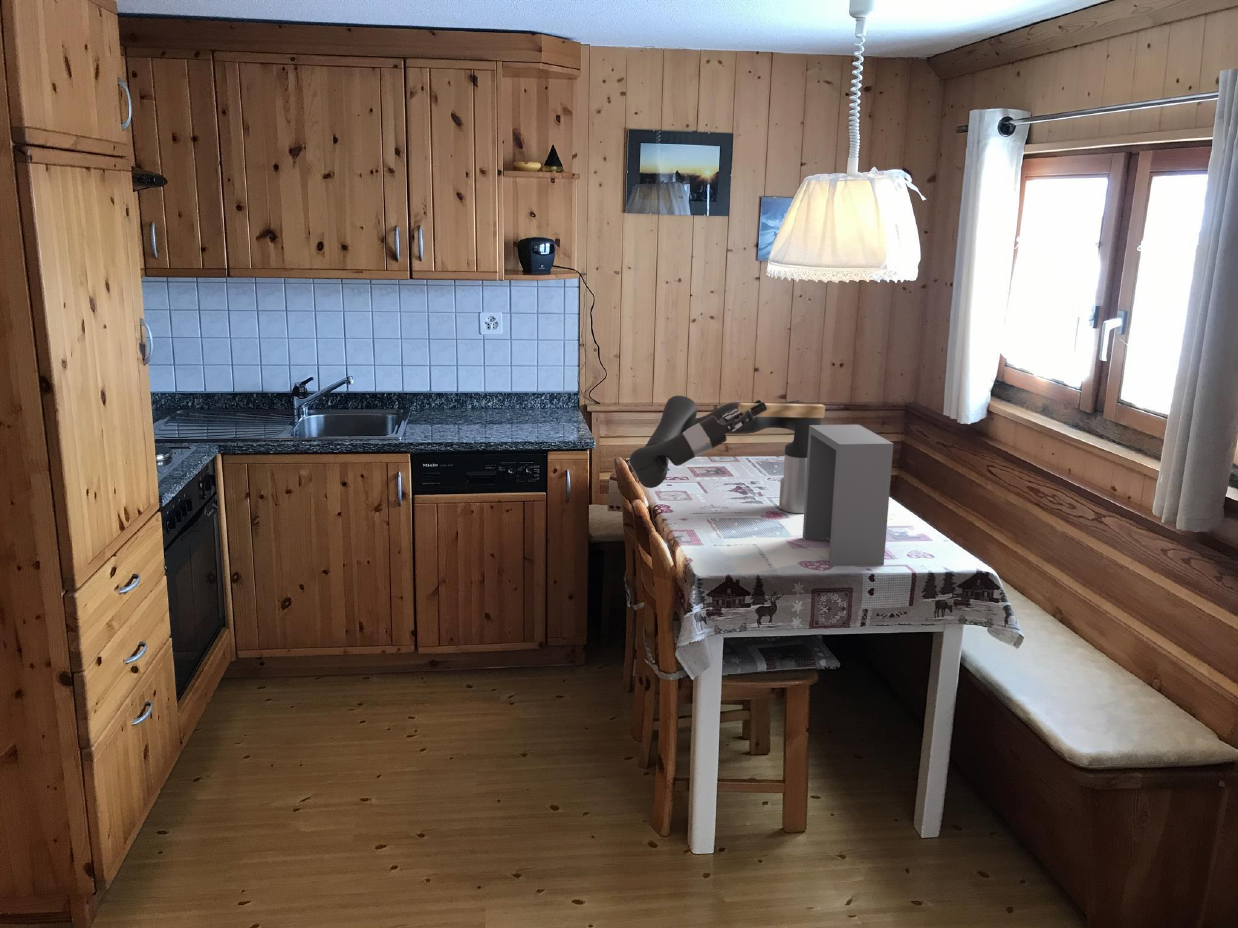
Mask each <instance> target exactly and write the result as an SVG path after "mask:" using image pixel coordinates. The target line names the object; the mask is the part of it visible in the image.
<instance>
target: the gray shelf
mask: <svg viewBox="0 0 1238 928" xmlns="http://www.w3.org/2000/svg"><path fill="white" fill-rule="evenodd" d="M893 453H894V443H893V442H892V441H889V440H887V438H884V437H883V436H880V435H879V434H877V433H875V432H873V431H871V430H870V429H868V428H866V427H865V426H863V425H860V424H821V425H809V437H808V454H807V471H806V488H805V505H804V513H803V523H802V524H803V525H802V539H803V538H804V539H803V540H805V541H813V540H816V541H817V540H830V544H829V555H828V558H829V559H828V564H830V566H829V567H851V566H853V567H856V566H860V567H861V566H884V565H885V554H886V553H885V552H886V543H887V542H886V540H887V529H888V518H889V517H888V516H889V505H890V503H889V502H890V492H891V478H892V468H893V467H892V465H893V455H894V454H893Z"/></svg>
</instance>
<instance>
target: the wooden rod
mask: <svg viewBox="0 0 1238 928" xmlns="http://www.w3.org/2000/svg"><path fill="white" fill-rule="evenodd" d="M764 403H765V402H764ZM779 403H780V402H776V403H774V402H773V403H772V402H768V403H767V402H766V403H765V405H766V407H767V410H765V411H763V412H762V413H760V414H758V415H756V416H755V417H808V418H821V419H822V418H825V415H826V414H825V413H826V406H825V405H824V404H819V403H809V404H779ZM757 404H759V403H753V402H752V403H739V408H738V410H739V411H741V412H744V411H746V410H748V409H750V408H752V407H754V406H756V405H757Z"/></svg>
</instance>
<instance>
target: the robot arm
mask: <svg viewBox="0 0 1238 928" xmlns="http://www.w3.org/2000/svg"><path fill="white" fill-rule="evenodd" d="M739 403H759V404H757V405H756V406H754V407H752V408H750V409H748V410H746V411H744V412H741V411H739V410H738V408H739ZM778 403H779V404H810V403H809V402H805V401H802V400H790V401H783V402H778ZM765 410H767V407H766V405H765V402H764V401H762V400H760V399H757V400H755V401H753V402H751V401H750V402H748V401H747V402H746V401H745V402H744V401H743V402H742V401H739V402H738V401H736V402H735V401H734V402H729V403H726V404H724V405H721V406H720V407H718V408H716V409H715V410H713V411H711V412H710V413H709V412H708V413H707V414H706V415H703V416H700V417H697V415H698V406H697V404H696V402H695V401H694V400H693V399H691V398H690V397H687V396H684V395H673V396H671V397H670V398H668V400H667V402H666V403H665V406H664V408H663V411H662V415H661V418H660V422H659V423H658V425H657V427H656V429H655V430H654V432H653V433H652V435H651V436H650V438H649V440H647V443H645V446H643V447H639V448H637V449H635V450H634V451H633V452H632V453H631V454H630V457H629V459H628V461H629V463H630V467H631V468H632V471H633V472H634V473H635V475H636V477H637V479H638V481H639V483H640V484H641V485H642V486H643V487H644V488H647V489H654V488H656V487H658V486H660V485H661V484H662V483H664V481H665V479H666V478H667V474H668V470H669V462H671V464H672V465H674V466H677V467H678V466H682V465H683V464H686V462H688V461H691V460H692V459H694V458H696V457H699V456H700V455H704V454H705V453H708V452H709V451H711V450H713V449H715V448H716V447H718V446H720V445H722V444H724V443H726V442H727V440H728V438H727V436H726V435H747V434H754V433H757V432H758V433H759V432H761V431H762V430H765V429H769V428H770V429H772V428H775V429H784V430H785V429H786V430H789V431H793V433H794V434H793V440H792V441H791V442H789V443H786V445H785V446H784V458H783V463H784V464H783V476H782V477H781V478H780V480H779V481H780V483H779V485H780V487H779V500H778V501H779V503H778V504H779V505H778V509H781V510H783V511H785V512H787V513H793V514H804V505H805V488H806V471H807V454H808V437H809V425H822V418H808V417H755V416H756V415H758V414H760V413H762V412H763V411H765Z"/></svg>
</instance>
